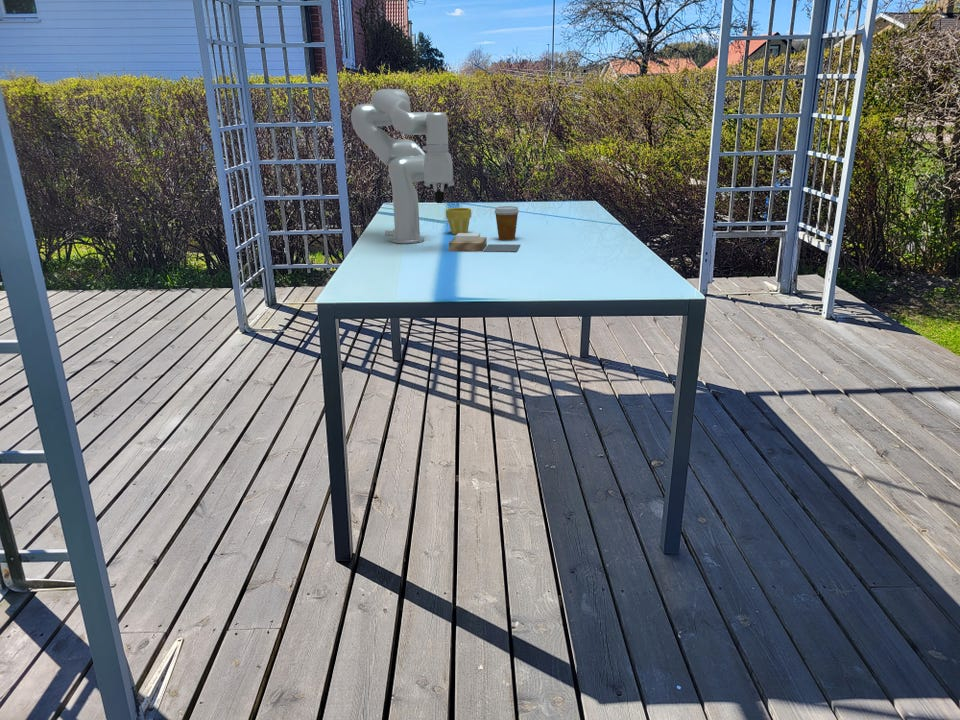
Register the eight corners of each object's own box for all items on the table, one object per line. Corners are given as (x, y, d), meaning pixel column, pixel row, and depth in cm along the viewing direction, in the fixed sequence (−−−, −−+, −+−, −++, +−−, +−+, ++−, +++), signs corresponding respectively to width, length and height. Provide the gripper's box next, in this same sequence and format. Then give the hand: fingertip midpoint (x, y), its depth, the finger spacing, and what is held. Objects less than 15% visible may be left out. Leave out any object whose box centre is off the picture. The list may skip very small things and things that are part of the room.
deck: (449, 251, 254) (448, 242, 253) (454, 245, 265) (454, 237, 264) (482, 251, 252) (482, 243, 251) (486, 245, 263) (486, 237, 262)
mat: (483, 251, 251) (483, 250, 251) (488, 245, 264) (488, 244, 263) (517, 252, 250) (517, 251, 250) (520, 245, 262) (520, 244, 262)
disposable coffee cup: (521, 237, 279) (521, 206, 275) (516, 241, 270) (516, 209, 266) (497, 236, 281) (497, 205, 277) (492, 240, 272) (491, 209, 268)
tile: (455, 241, 255) (455, 235, 254) (458, 238, 261) (458, 233, 260) (477, 241, 254) (477, 236, 253) (480, 238, 260) (479, 233, 259)
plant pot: (443, 232, 294) (442, 208, 290) (467, 230, 297) (467, 206, 293) (450, 236, 284) (449, 211, 281) (474, 234, 287) (474, 209, 284)
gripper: (414, 150, 246) (417, 204, 252) (456, 149, 244) (458, 204, 250) (419, 149, 253) (421, 201, 259) (460, 148, 251) (462, 201, 257)
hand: (439, 202), depth 254 cm, fingers closed
